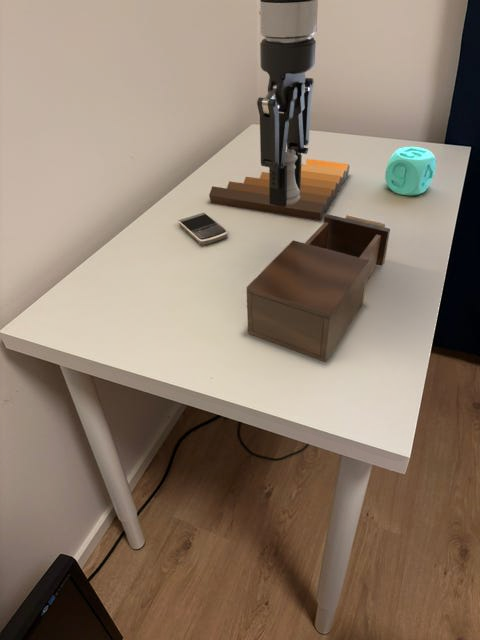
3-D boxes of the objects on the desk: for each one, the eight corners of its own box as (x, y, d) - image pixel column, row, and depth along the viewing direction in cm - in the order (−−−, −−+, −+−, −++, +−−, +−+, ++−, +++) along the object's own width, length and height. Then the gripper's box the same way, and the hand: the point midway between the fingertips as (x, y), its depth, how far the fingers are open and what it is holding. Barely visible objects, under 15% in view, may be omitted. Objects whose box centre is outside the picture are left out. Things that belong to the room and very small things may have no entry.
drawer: (334, 235, 93) (337, 202, 89) (393, 249, 88) (399, 215, 84) (291, 284, 81) (292, 249, 77) (356, 304, 76) (361, 268, 72)
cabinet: (291, 283, 83) (292, 239, 77) (362, 305, 77) (369, 260, 72) (247, 333, 73) (246, 287, 68) (325, 362, 68) (330, 314, 62)
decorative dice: (431, 186, 110) (439, 151, 104) (415, 199, 105) (423, 163, 100) (399, 177, 114) (405, 143, 109) (382, 189, 109) (387, 154, 104)
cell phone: (202, 248, 93) (201, 241, 92) (176, 225, 100) (176, 219, 99) (229, 238, 95) (229, 232, 94) (203, 216, 102) (202, 210, 101)
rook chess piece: (269, 203, 79) (269, 155, 74) (277, 193, 82) (278, 145, 78) (295, 207, 78) (297, 157, 73) (303, 196, 81) (305, 148, 76)
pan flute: (209, 204, 107) (319, 222, 99) (208, 189, 105) (321, 207, 97) (252, 162, 124) (348, 174, 116) (251, 149, 122) (350, 161, 114)
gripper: (291, 25, 73) (288, 175, 87) (230, 47, 61) (238, 215, 76) (338, 27, 69) (327, 182, 84) (283, 51, 58) (280, 226, 73)
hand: (285, 198), depth 80 cm, fingers closed on rook chess piece, 4 cm apart
